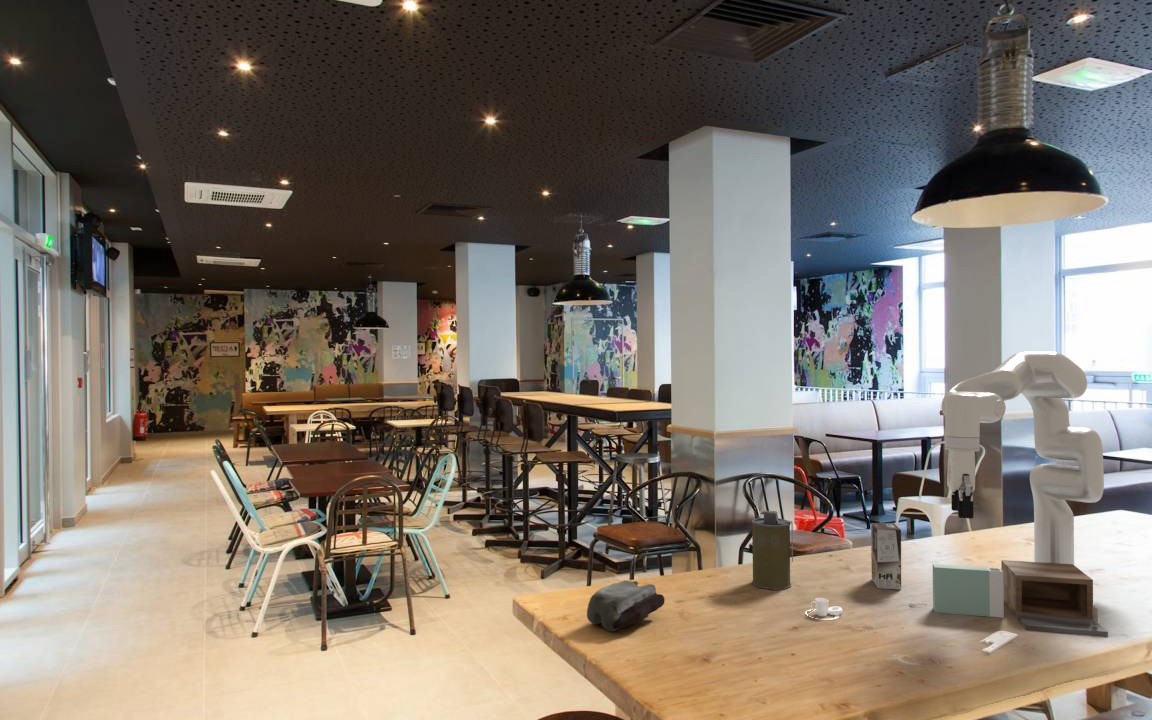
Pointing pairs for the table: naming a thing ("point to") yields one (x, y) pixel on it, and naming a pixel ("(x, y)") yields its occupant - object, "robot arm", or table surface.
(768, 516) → the canister
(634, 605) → the rock
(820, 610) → the teacup and saucer
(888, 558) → the coffee box
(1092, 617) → the cabinet
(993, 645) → the white plastic blade
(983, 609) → the green and grey box
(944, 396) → the robot arm
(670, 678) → the table surface
